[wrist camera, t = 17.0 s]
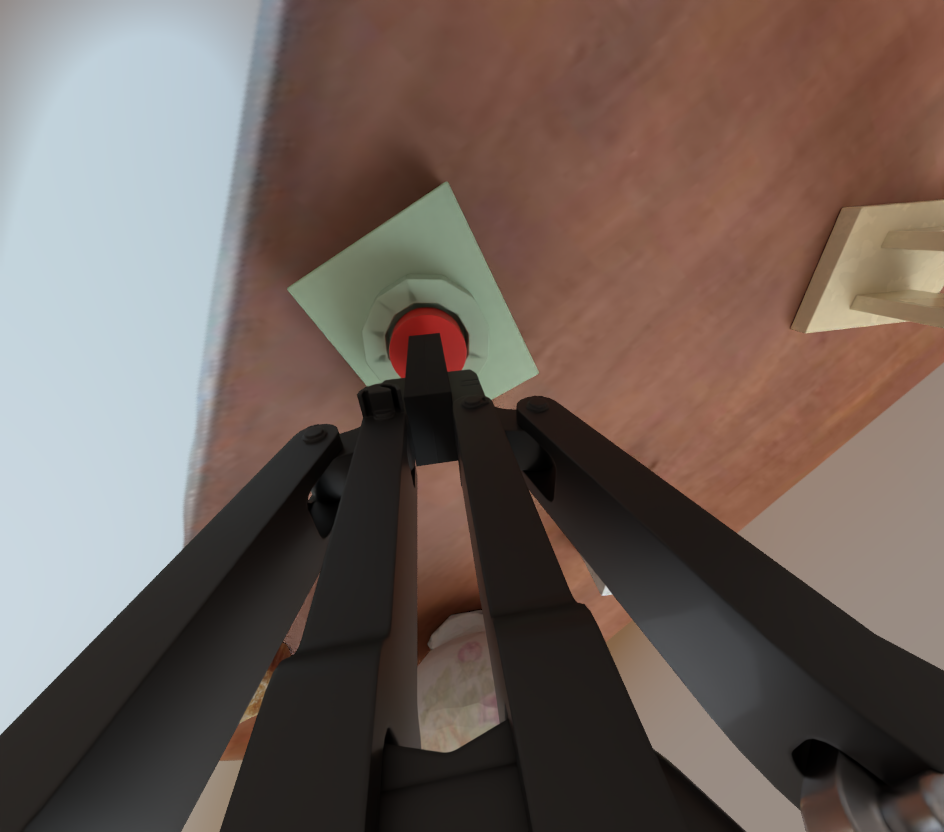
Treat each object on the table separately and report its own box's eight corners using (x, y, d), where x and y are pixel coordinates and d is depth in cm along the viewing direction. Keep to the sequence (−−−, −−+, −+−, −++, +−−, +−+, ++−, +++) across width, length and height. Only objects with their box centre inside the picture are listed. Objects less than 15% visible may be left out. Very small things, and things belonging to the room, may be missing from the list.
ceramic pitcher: (440, 682, 49) (471, 1024, 29) (341, 650, 39) (279, 1156, 18) (567, 619, 45) (705, 964, 25) (495, 564, 35) (634, 1087, 14)
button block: (298, 282, 19) (272, 295, 16) (444, 184, 18) (450, 175, 15) (413, 426, 25) (413, 458, 22) (530, 361, 24) (548, 384, 21)
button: (376, 331, 18) (372, 341, 16) (439, 292, 17) (441, 298, 16) (417, 387, 20) (417, 401, 18) (475, 354, 19) (480, 365, 18)
